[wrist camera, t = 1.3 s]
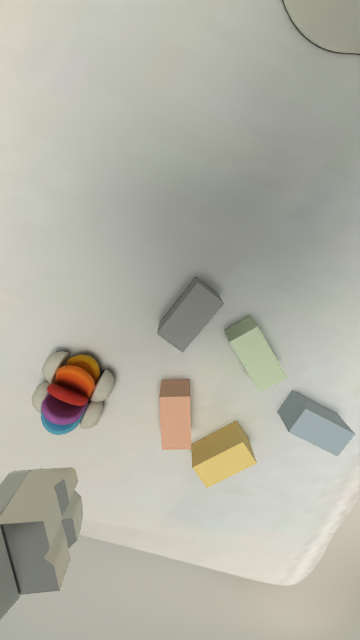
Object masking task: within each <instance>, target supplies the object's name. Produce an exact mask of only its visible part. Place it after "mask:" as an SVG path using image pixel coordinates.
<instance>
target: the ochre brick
mask: <svg viewBox="0 0 360 640" xmlns="http://www.w3.org/2000/svg"><path fill="white" fill-rule="evenodd" d="M191 447H192V468H193V469H194V471H195V472H196V473H197V475H198V476H199V478H200V479H201V480H202V482H203V483H204V485H205V486H206V487H207V488H208V487H210V486H212V485H214V484H216V483H218V482H220V481H222V480H224V479H226V478H228V477H230V476H232V475H234V474H236V473H238V472H240V471H242V470H244V469H246V468H248V467H250V466H252V465H254V464H256V463H257V462H256V459H255V456H254V453H253V450H252V447H251V444H250V441H249V439H248V438H247V436H246V435H245V433H244V431H243V430H242V428H241V427H240V425H239V424H238V422H237V421H235V422H233V423H231V424H229V425H227V426H226V427H224V428H222V429H220V430H218V431H216V432H214V433H212V434H210V435H208V436H206V437H204V438H203V439H201V440H199V441H197V442H195V443H193V444H191Z"/></svg>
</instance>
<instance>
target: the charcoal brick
mask: <svg viewBox="0 0 360 640" xmlns="http://www.w3.org/2000/svg"><path fill="white" fill-rule="evenodd" d="M223 304H224V303H223V301H222V299H221V298H220V296H219V295H218V294H216V293H215V292H214V291H213V290H211V289H210V288H209V287H208V286H206V285H205V284H204V283H203V282H201V281H200V280H199V279H198V278H195V279H194V281H193V282H192V283H191V284H190V286H189V287H188V288H187V289H186V291H185V292H184V293H183V294H182V296H181V297H180V298H179V299H178V301H177V302H176V303H175V304H174V306H173V307H172V308H171V309H170V310H169V312H168V313H167V314H166V315H165V317H164V318H163V319H162V320H161V322H160V324H159V328H158V331H157V334H158V335H160V336H161V337H162V338H164V339H165V340H166V341H168V342H169V343H170V344H172V345H173V346H174V347H176V348H177V349H178V350H180V351H181V352H183V351H184V350H185V349H186V348H187V347H188V345H189V344H190V343H191V342H192V341H193V339H194V338H195V337H196V336H197V335H198V334H199V332H200V331H201V330H202V329H203V328H204V326H205V325H206V324H207V323H208V322H209V321H210V319H211V318H212V317H213V316H214V315H215V313H216V312H217V311H218V310H219V309H220V308H221V306H222V305H223Z"/></svg>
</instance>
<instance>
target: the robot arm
mask: <svg viewBox="0 0 360 640" xmlns="http://www.w3.org/2000/svg"><path fill="white" fill-rule="evenodd" d="M283 1H284V4H285V6H286V9H287V11H288V13H289V15H290V17H291V19H292V21H293V22H294V24H295V25H296V26H297V28H298V29H299V30H300V31H301V32H302V33H303V34H304V35H305V36H306V37H307V38H308V39H309V40H311V41H312V42H313V43H315V44H317V45H318V46H320V47H322V48H325V49H327V50H331V51H335V52H341V53H359V54H360V0H283ZM77 483H78V479H77V474H76V470H75V469H73V468H72V467H71V468H52V469H34V470H20V471H13V472H11V473H9V474H8V475H7V476H6V478H5V479H4V480H3V482H2V483H1V484H0V619H1V618H2V617H3V616H4V615H5V614H6V613H7V611H8V610H9V609H10V608H11V607H12V605H14V603H15V602H16V601H17V600H18V599H19V597H20V596H19V595H22V594H31V593H40V592H50V591H60V588H61V585H62V582H63V579H64V576H65V574H66V571H67V568H68V565H69V562H70V554H69V550H68V549H69V548H70V547H71V546H72V544H74V543H75V542H76V541H77V538H78V535H79V532H80V529H81V523H82V516H83V506H82V499H81V496H80V495H79V494H78V493H77V492H76V491H75V487H76V485H77Z"/></svg>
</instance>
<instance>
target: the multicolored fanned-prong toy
mask: <svg viewBox="0 0 360 640" xmlns="http://www.w3.org/2000/svg"><path fill="white" fill-rule="evenodd" d="M68 358H69V353H68V352H55V353H53V354H51V355H50V356H49V357H48V358H47V360H46V361H45V363H44V365H43V375H44V377H45V379H46V380H47V381H46V382H44V383H42V384H40V385H39V386H38V387H37V388H36V390H35V392H34V394H33V396H32V403H33V406H34V408H35V409H36V410H37V411H38V412H40V413H41V420H42V423H43V426H44V427H45V428H46V430H48V431H49V432H50V433H52V434H56V435H60V434H66V433H68V432H70V431H72V430H73V429H75V428H76V427H77V426H78V424H79V423H80V428H91V427H93V426H95V425H96V424H97V423H98V421H99V419H100V417H101V415H102V412H103V404H102V402H101V401H103V400H105V399H107V398H108V397H109V395H110V393H111V391H112V389H113V387H114V385H115V380H114V377H113V375H112V374H111V373H110V372H109V371H108V370H105V371H104V372H103V374H102V376H101V378H100V368H99V365H98V363H97V362H96V360H95V359H94V358H92V357H91V356H88V355H76V356H74V357H72V358H69V359H68ZM89 397H90V398H89ZM90 400H91V401H90Z"/></svg>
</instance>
